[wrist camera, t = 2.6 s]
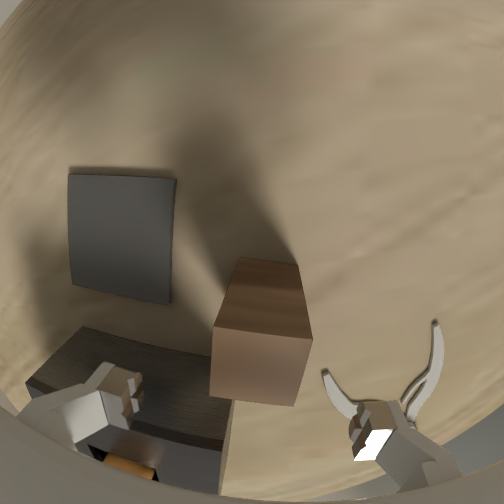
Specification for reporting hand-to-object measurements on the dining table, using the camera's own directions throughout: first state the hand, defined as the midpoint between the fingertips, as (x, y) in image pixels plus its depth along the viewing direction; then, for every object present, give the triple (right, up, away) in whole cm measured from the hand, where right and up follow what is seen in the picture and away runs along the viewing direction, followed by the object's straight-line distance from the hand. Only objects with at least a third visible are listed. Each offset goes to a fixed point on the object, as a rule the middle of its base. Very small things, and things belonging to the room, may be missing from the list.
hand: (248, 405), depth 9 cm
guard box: (-8, -8, +12) cm, 17 cm away
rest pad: (-9, +6, +8) cm, 14 cm away
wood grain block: (+1, +3, +9) cm, 9 cm away
